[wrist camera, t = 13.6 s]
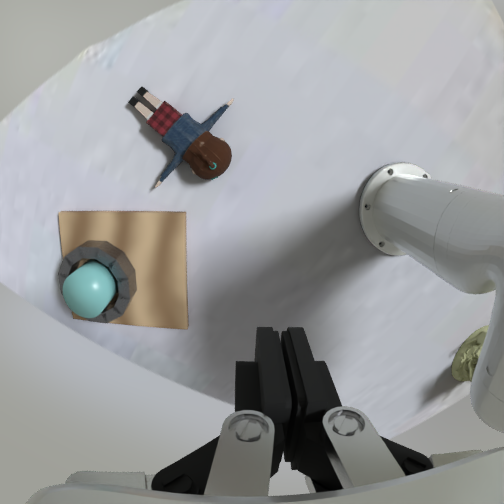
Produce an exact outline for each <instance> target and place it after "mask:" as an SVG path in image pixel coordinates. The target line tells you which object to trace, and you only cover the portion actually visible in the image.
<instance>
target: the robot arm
mask: <svg viewBox="0 0 504 504" xmlns="http://www.w3.org/2000/svg"><path fill="white" fill-rule="evenodd" d="M388 170H389V173H388V172H387V171H388ZM365 204H367V206H366V207H365ZM359 215H360V221H361V226H362V229H363V231H364V234H365V235H366V237H367V238H368V240H369V241H370V242H371V243H372V244H373V245H374V246H375V247H376V248H378V249H379V250H381V251H382V252H384V253H386V254H390V255H395V256H402V255H409V256H410V257H412V258H413V259H415V260H416V261H417V262H419V263H420V264H422V265H423V266H425V267H426V268H428V269H429V270H430V271H432V272H433V273H435V274H436V275H437V276H439V277H440V278H442V279H443V280H444V281H446V282H447V283H449V284H450V285H452V286H453V287H455V288H456V289H458V290H460V291H462V292H465V293H468V294H483V293H488V292H491V291H494V290H496V297H495V302H494V306H493V310H492V316H491V320H490V324H489V327H488V331H487V334H486V337H485V340H484V343H483V346H482V349H481V352H480V355H479V358H478V362H477V365H476V368H475V371H474V374H473V377H472V382H471V388H470V397H471V398H470V399H471V404H472V406H473V409H474V411H475V413H476V414H477V416H478V417H479V418H480V419H481V420H482V421H483V422H484V423H485V424H487V425H488V426H489V427H491V428H493V429H495V430H497V431H499V432H502V433H504V195H500V194H496V193H492V192H488V191H483V190H479V189H475V188H471V187H466V186H462V185H457V184H453V183H448V182H444V181H439V180H434V179H432V177H431V176H430V175H429V174H428V173H427V172H426V171H425V170H424V169H422V168H421V167H419V166H417V165H414V164H411V163H405V162H398V163H392V164H389V165H386V166H384V167H382V168H381V169H379V170H378V171H377V172H376V173H375V174H373V176H372V177H371V178H370V179H369V181H368V182H367V184H366V186H365V188H364V190H363V193H362V196H361V200H360V206H359ZM380 241H381V242H380ZM379 242H380V244H379ZM283 452H284V459H285V462H291V469H292V470H298V471H299V472H301V473H303V474H305V475H306V476H305V480H306V484H307V487H308V489H309V492H310V494H300V495H287V496H286V495H285V496H268V491H269V481H270V478H271V477H272V476H273V475H274V474H275V473H277V472H278V468H279V464H280V462H281V459H282V454H283ZM26 504H504V447H501V448H495V449H492V450H488V451H484V452H483V451H481V450H471V451H463V452H454V453H445V454H433V455H431V456H430V458H427V457H426V456H425V455H423V454H421V453H419V452H416V451H414V450H412V449H409V448H407V447H404V446H402V445H400V444H397V443H395V442H393V441H390V440H388V439H386V438H384V437H381V436H380V435H379V434H378V432H377V431H376V429H375V428H374V426H373V425H372V423H371V422H370V420H369V419H368V417H367V416H366V415H365V414H364V413H363V412H361V411H360V410H358V409H355V408H352V407H346V406H342V405H341V402H340V399H339V396H338V394H337V391H336V388H335V386H334V383H333V380H332V378H331V375H330V373H329V370H328V367H327V365H326V363H325V361H314V358H313V355H312V352H311V349H310V346H309V343H308V340H307V337H306V334H305V331H304V329H303V328H302V327H288V329H287V331H282V334H281V343H280V338H279V333H278V331H273V328H272V327H257V334H256V349H255V362H245V361H236V375H235V413H233V414H231V415H230V416H228V417H227V418H226V419H225V421H224V423H223V426H222V430H221V433H220V436H218V437H216V438H215V439H213V440H212V441H210V442H208V443H207V444H205V445H204V446H202V447H200V448H199V449H197V450H195V451H194V452H192V453H190V454H189V455H187V456H185V457H184V458H182V459H180V460H178V461H177V462H175V463H173V464H171V465H170V466H168V467H166V468H164V469H162V470H161V471H160V472H158V473H157V474H156V475H145V473H144V472H96V471H95V472H94V471H80V472H76V473H74V474H71V475H70V476H69V478H68V479H67V480H66V483H65V484H59V485H53V486H49V487H45V488H43V489H41V490H39V491H37V492H36V493H35V494H33V495H32V496H31V497H30V499H29V500H28V501H27V502H26Z"/></svg>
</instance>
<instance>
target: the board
mask: <svg viewBox="0 0 504 504" xmlns="http://www.w3.org/2000/svg"><path fill="white" fill-rule="evenodd" d="M59 225H60V236H61V245H62V254H63V258H64V256H66V255H67V254H69V253H70V252H71V251H73V250H74V249H76V248H77V247H79V246H80V245H82V244H83V243H85V242H86V241H88V240H96V241H108V242H109V243H111V244H112V245H114V246H116V247H117V248H119V249H120V250H122V251H124V252H125V254H126V256H127V257H128V259H129V261H130V262H131V264H132V266H133V267H134V269H135V272H136V284H137V291H136V293H135V295H134V297H133V299H132V301H131V303H130V305H129V306H128V308H127V309H126V311H125V312H124V314H123V315H122V316H121V317H119V318H117V319H115V320H113V321H111V322H109V323H115V324H125V325H136V326H147V327H159V328H173V329H188V326H189V324H188V300H187V262H186V212H169V211H61V212H59ZM88 260H89V259H86V258H82V259H81V261H80V264H79V266H78V268H79V267H81V266H82V265H83V264H84V263H86V262H87V261H88ZM118 297H119V291H118V292H117V293H116V295H115V296H114V297H113V298H112V300H111V301H110V302H109V303H112V302H114V301H116V300H117V299H118ZM72 315H73V319H81V320H87V319H85V318H84V317H81V316H79V315H77V314H75V313H74V312H73V311H72Z"/></svg>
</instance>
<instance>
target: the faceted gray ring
mask: <svg viewBox="0 0 504 504" xmlns="http://www.w3.org/2000/svg"><path fill="white" fill-rule="evenodd" d="M82 258H86V259H97V260H98V261H100V262H101V263H103V264H104V265H106V266H107V267H109V268H110V270H111V272H112V273H113V275H114V276H115V278H116V280H117V281H118V290H119V297H118V299H117V300H116V301H114V302H112V303H108V305H107V306H106V307H105V308H104V310H103V311H102V312H101V313H100V314H99V315H98V316H96V317H94V318H85V319H87V320H88V321H93V322H101V323H109V322H111V321H113V320H115V319H117V318H119V317H121V316H122V315H123V314H124V312H125V311H126V309H127V308H128V306H129V305H130V303H131V301H132V299H133V297H134V295H135V293H136V291H137V284H136V272H135V269H134V267H133V266H132V264H131V262H130V261H129V259H128V257H127V256H126V254H125V252H124V251H122V250H120V249H119V248H117V247H116V246H114V245H112V244H111V243H109V242H108V241H96V240H88V241H86V242H85V243H83V244H82V245H80V246H79V247H77V248H76V249H74V250H73V251H71V252H70V253H69V254H67V255H66V256H64V258H63V261H62V264H61V267H60V270H59V273H58V275H59V282H60V288H61V293H62V295H63V284H64V281H65V279H66V278H67V277H68V276H69V275H71V274H72V273H73V272H74V271H76V270H77V269H78V266H79V264H80V261H81V259H82Z"/></svg>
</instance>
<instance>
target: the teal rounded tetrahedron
mask: <svg viewBox="0 0 504 504" xmlns="http://www.w3.org/2000/svg"><path fill="white" fill-rule="evenodd" d="M118 291H119V290H118V281H117V280H116V278H115V276H114V275H113V273H112V272H111V270H110V268H109V267H107V266H106V265H104V264H103V263H101V262H100V261H98V260H97V259H89V260H88V261H87V262H86V263H84V264H83V265H82V266H81V267H79V268H78V269H77V270H76V271H74V272H73V273H72V274H71V275H69V276H68V277H67V278H66V279H65V281H64V284H63V296H64V299H65V302H66V304H67V305H68V307H69V308H70V309H71V310H72V311H73V312H74V313H75V314H77V315H79V316H81V317H84V318H94V317H96V316H98V315H99V314H100V313H101V312H102V311H103V310H104V308H105V307H106V306H107V305H108V303H109V302H110V301H111V300H112V298H113V297H114V296H115V295H116V293H117V292H118Z"/></svg>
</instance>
